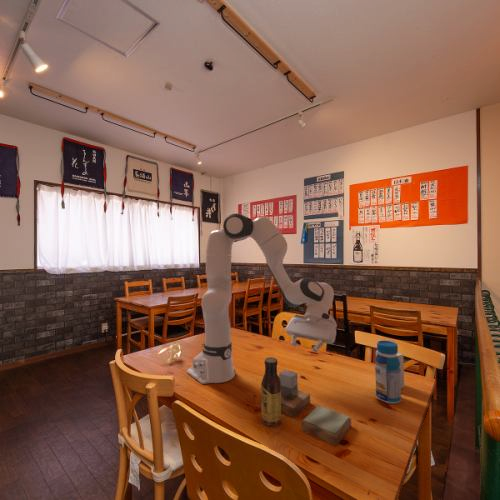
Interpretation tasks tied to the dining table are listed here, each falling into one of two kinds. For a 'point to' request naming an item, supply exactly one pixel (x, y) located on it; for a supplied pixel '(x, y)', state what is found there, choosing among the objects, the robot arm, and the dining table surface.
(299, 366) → the dining table surface
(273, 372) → the sauce bottle
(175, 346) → the shrimp
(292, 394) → the housing
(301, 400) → the stand left
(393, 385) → the beverage bottle
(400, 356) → the small box
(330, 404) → the dining table surface
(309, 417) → the stand right
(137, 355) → the dining table surface
